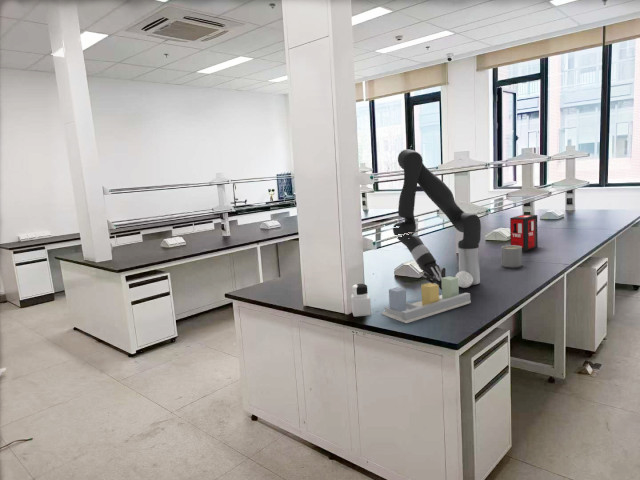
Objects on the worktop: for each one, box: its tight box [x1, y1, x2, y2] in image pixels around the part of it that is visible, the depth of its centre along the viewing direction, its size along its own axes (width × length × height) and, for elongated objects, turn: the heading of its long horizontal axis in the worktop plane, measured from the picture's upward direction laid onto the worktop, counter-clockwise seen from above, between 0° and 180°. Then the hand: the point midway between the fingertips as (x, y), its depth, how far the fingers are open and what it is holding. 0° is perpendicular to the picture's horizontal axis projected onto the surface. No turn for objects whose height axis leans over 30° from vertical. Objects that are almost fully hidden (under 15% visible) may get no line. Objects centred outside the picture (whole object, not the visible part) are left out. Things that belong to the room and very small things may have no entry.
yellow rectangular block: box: [420, 282, 440, 306], centre depth 181 cm, size 5×4×9 cm
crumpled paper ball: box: [454, 271, 473, 289], centre depth 209 cm, size 8×8×8 cm
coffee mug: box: [501, 244, 523, 268], centre depth 243 cm, size 13×10×10 cm
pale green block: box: [441, 275, 460, 299], centre depth 189 cm, size 5×4×9 cm
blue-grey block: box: [388, 286, 408, 312], centre depth 179 cm, size 5×4×9 cm
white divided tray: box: [381, 292, 472, 324], centre depth 184 cm, size 14×35×4 cm, turn 121°
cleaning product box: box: [509, 214, 538, 252], centre depth 281 cm, size 16×9×20 cm, turn 130°
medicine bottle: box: [350, 283, 372, 318], centre depth 184 cm, size 7×7×12 cm
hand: (444, 289), depth 192 cm, fingers closed
